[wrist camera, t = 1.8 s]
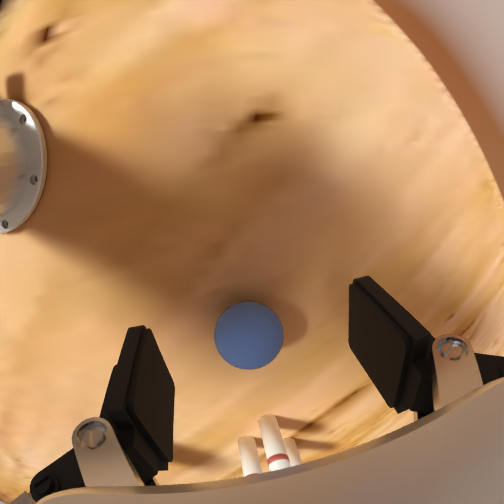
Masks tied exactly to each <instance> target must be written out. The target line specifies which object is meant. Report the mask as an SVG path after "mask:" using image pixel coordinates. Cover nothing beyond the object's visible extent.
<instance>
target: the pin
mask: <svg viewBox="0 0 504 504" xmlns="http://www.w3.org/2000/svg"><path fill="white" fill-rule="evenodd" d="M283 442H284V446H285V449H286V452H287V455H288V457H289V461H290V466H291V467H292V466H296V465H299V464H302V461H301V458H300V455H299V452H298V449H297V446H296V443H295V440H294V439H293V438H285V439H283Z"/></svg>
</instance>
